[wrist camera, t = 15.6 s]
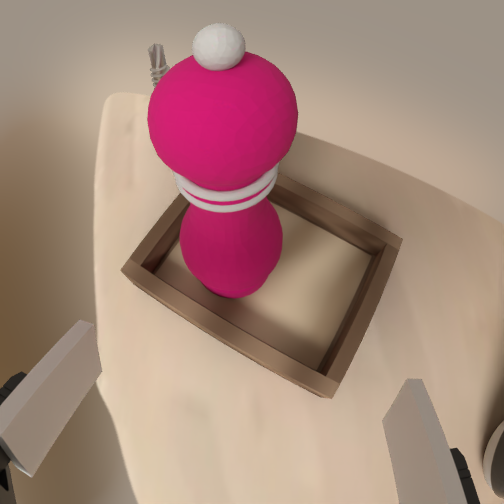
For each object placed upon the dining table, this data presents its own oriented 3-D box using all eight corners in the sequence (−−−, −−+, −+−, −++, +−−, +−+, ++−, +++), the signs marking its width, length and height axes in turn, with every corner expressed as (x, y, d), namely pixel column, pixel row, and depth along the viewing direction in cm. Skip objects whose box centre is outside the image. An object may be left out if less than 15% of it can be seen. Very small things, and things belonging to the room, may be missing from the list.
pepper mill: (220, 211, 28) (197, -13, 10) (291, 248, 27) (358, 22, 9) (173, 276, 26) (63, 65, 7) (248, 321, 24) (263, 123, 6)
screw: (148, 155, 32) (164, 125, 34) (189, 160, 32) (202, 129, 34) (117, 58, 21) (143, 32, 22) (169, 57, 20) (191, 31, 22)
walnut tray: (387, 255, 28) (402, 239, 25) (320, 397, 23) (331, 398, 20) (222, 169, 32) (220, 146, 28) (134, 284, 26) (120, 270, 23)
